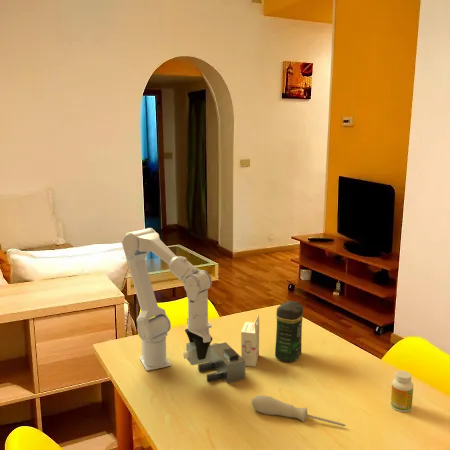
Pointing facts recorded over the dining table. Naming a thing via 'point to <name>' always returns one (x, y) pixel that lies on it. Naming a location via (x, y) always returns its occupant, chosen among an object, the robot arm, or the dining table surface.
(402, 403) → the supplement bottle
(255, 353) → the ink cartridge box
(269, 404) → the screwdriver
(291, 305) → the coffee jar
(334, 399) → the dining table surface
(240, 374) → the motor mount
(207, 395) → the dining table surface
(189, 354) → the grey block
